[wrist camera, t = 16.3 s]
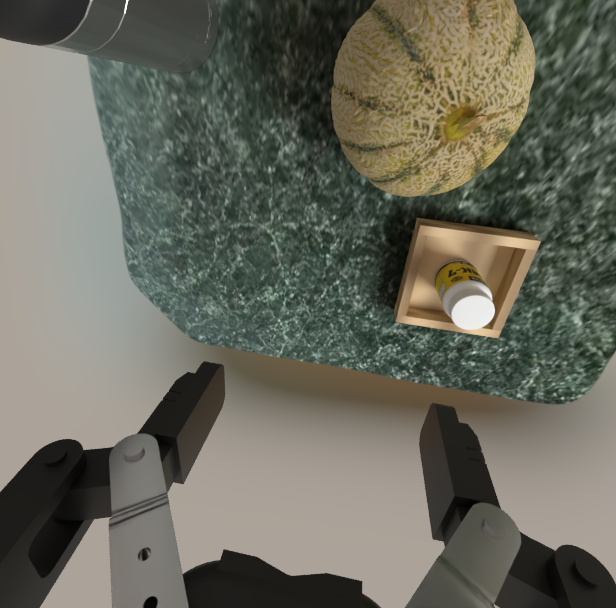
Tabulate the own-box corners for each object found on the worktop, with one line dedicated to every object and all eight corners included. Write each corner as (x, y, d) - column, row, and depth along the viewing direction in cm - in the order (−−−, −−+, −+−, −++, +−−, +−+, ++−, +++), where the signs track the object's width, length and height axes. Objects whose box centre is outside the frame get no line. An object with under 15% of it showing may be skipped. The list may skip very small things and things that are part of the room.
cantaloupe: (359, -14, 30) (350, -109, 17) (527, 21, 30) (649, -50, 17) (323, 164, 38) (298, 191, 25) (457, 195, 37) (503, 240, 24)
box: (394, 309, 45) (395, 321, 42) (417, 217, 39) (420, 225, 36) (490, 324, 44) (498, 338, 41) (529, 232, 38) (540, 241, 35)
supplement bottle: (480, 259, 39) (506, 293, 32) (472, 296, 42) (493, 335, 34) (436, 257, 40) (451, 290, 33) (430, 294, 42) (443, 332, 35)
